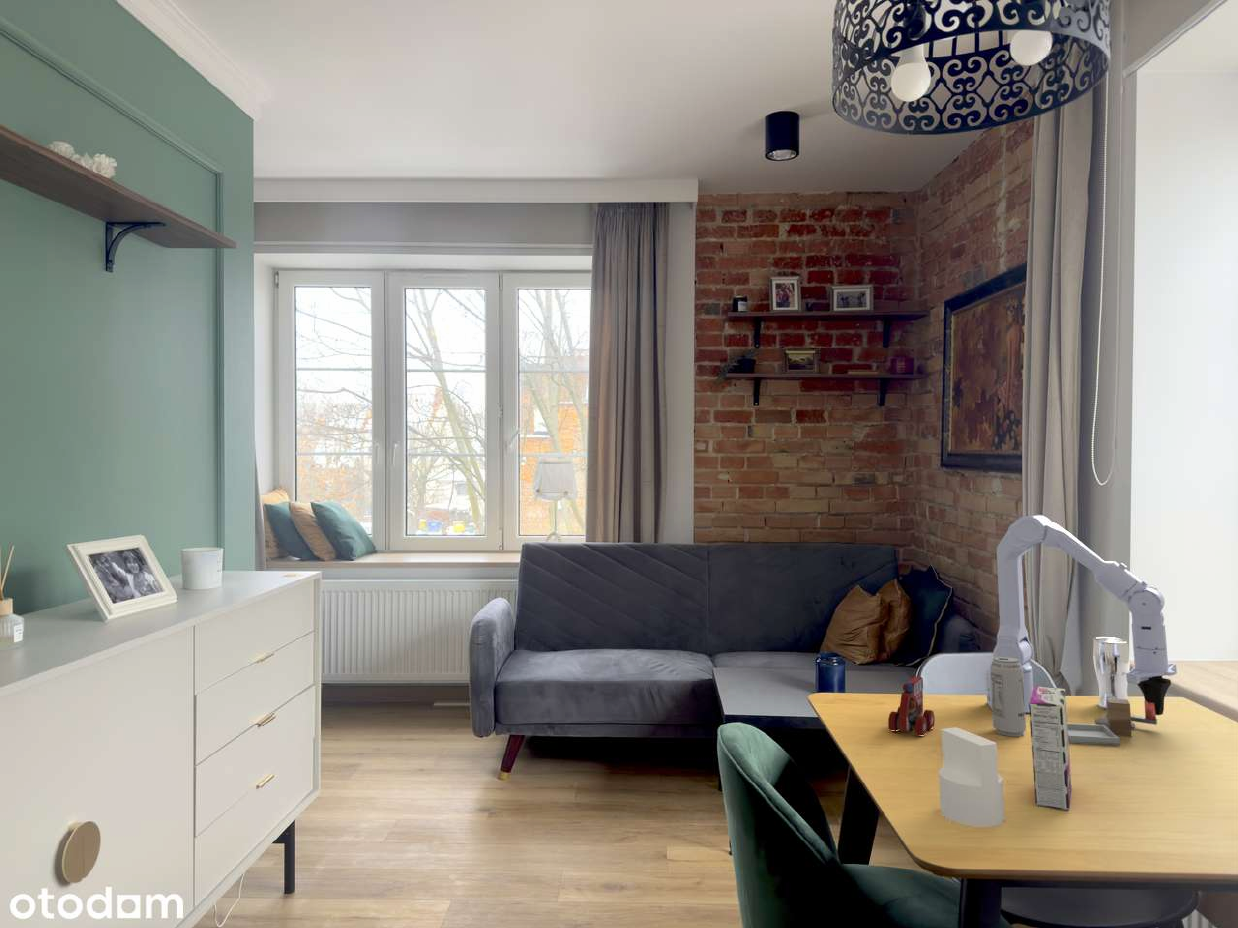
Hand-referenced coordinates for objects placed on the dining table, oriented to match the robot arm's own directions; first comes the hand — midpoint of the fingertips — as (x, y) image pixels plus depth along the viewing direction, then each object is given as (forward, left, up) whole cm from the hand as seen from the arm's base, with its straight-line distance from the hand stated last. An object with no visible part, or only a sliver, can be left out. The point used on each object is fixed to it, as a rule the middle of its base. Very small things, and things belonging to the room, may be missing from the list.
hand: (1155, 713), depth 158 cm
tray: (-15, -8, -3) cm, 17 cm away
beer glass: (-3, +16, -3) cm, 17 cm away
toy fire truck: (-48, -10, -3) cm, 49 cm away
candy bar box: (-29, -42, -3) cm, 51 cm away
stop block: (-8, -4, -3) cm, 10 cm away
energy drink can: (-29, -8, -3) cm, 30 cm away
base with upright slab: (-43, -52, -3) cm, 67 cm away
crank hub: (-7, +2, -3) cm, 8 cm away
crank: (-4, +1, -2) cm, 5 cm away
